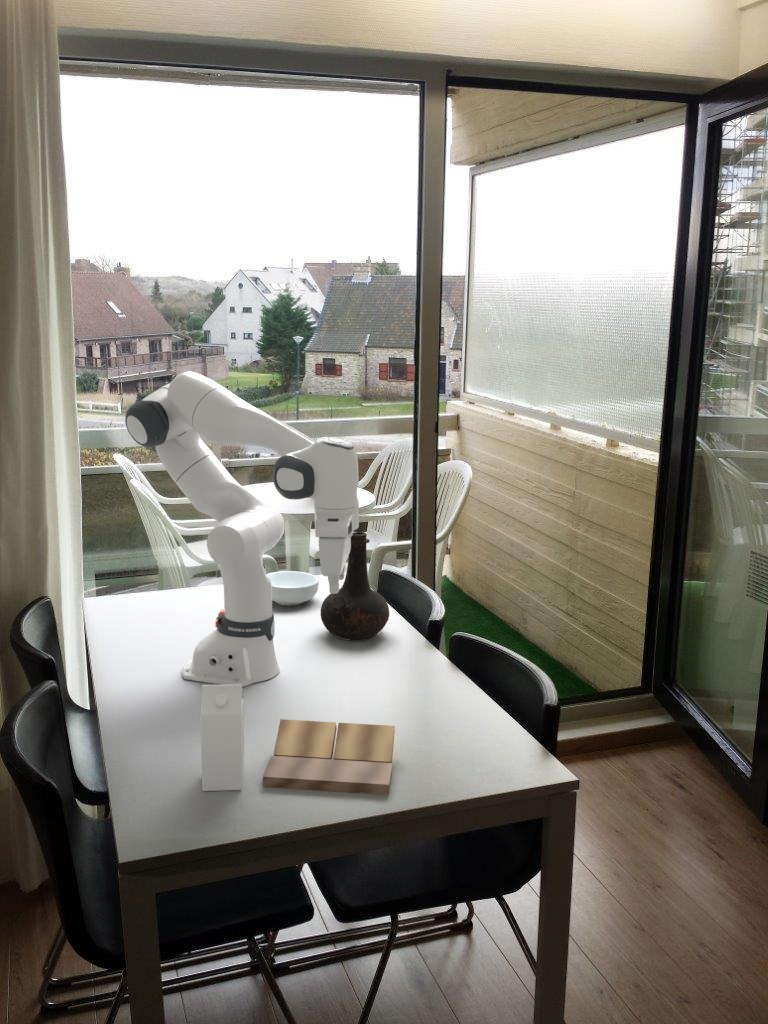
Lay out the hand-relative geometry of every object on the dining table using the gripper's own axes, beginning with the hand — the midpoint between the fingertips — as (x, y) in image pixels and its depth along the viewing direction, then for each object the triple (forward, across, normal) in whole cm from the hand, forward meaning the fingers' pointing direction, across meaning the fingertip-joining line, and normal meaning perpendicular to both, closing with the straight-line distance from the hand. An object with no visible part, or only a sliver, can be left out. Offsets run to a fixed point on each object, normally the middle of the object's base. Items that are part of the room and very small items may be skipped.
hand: (337, 585), depth 189 cm
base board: (+30, +23, +1) cm, 38 cm away
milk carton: (+30, +26, -18) cm, 44 cm away
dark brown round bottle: (+30, -53, -2) cm, 61 cm away
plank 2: (+28, +14, +7) cm, 32 cm away
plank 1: (+28, +14, -5) cm, 32 cm away
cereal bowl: (+29, -78, -23) cm, 87 cm away
